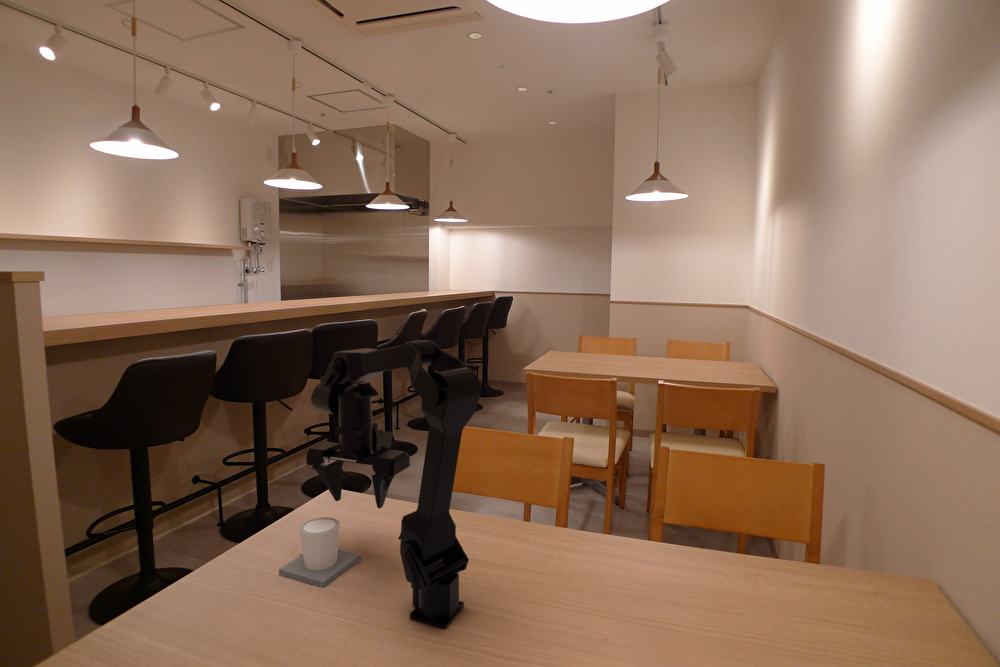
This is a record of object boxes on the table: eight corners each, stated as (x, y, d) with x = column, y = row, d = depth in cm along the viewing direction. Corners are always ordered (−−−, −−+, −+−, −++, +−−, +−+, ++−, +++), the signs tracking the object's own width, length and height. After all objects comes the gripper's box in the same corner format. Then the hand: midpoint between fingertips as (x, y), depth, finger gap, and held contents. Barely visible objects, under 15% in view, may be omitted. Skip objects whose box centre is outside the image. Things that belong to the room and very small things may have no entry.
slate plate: (360, 559, 100) (360, 554, 100) (323, 588, 91) (323, 582, 91) (318, 548, 104) (318, 543, 104) (279, 574, 95) (278, 569, 95)
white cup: (346, 553, 100) (345, 517, 100) (331, 573, 94) (329, 535, 93) (311, 551, 101) (310, 515, 100) (293, 571, 94) (292, 533, 94)
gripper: (424, 413, 100) (426, 494, 101) (342, 405, 107) (345, 482, 108) (390, 428, 89) (393, 518, 91) (302, 419, 96) (306, 503, 98)
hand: (358, 504), depth 97 cm, fingers open, 9 cm apart
